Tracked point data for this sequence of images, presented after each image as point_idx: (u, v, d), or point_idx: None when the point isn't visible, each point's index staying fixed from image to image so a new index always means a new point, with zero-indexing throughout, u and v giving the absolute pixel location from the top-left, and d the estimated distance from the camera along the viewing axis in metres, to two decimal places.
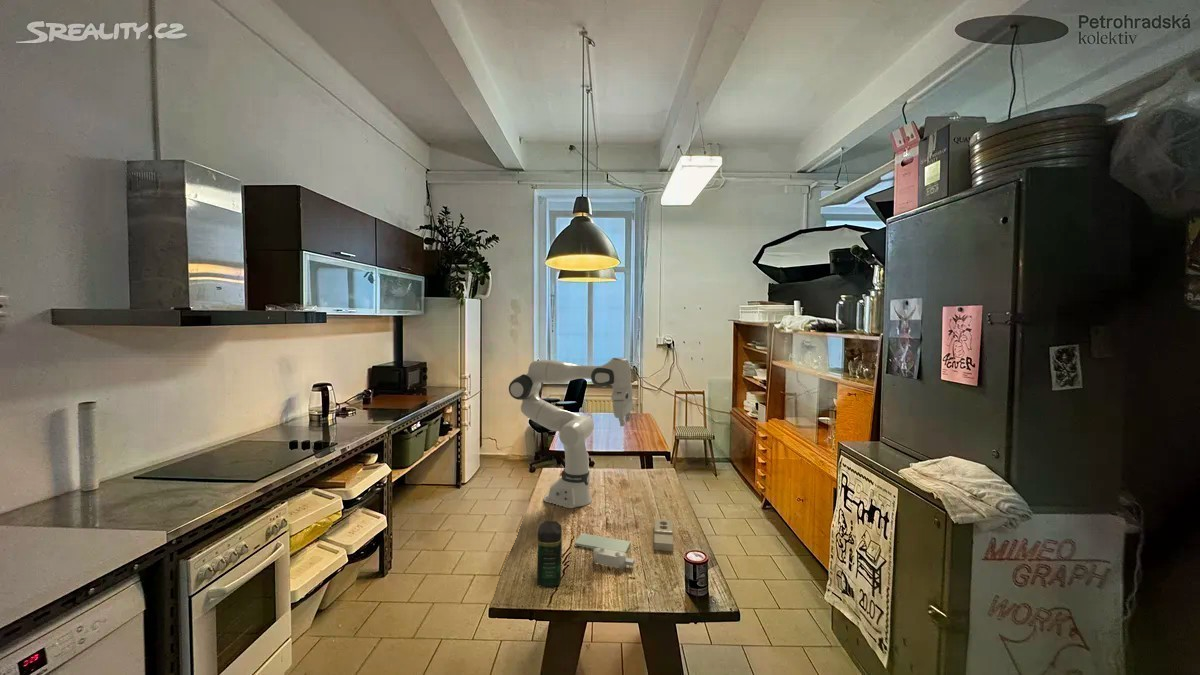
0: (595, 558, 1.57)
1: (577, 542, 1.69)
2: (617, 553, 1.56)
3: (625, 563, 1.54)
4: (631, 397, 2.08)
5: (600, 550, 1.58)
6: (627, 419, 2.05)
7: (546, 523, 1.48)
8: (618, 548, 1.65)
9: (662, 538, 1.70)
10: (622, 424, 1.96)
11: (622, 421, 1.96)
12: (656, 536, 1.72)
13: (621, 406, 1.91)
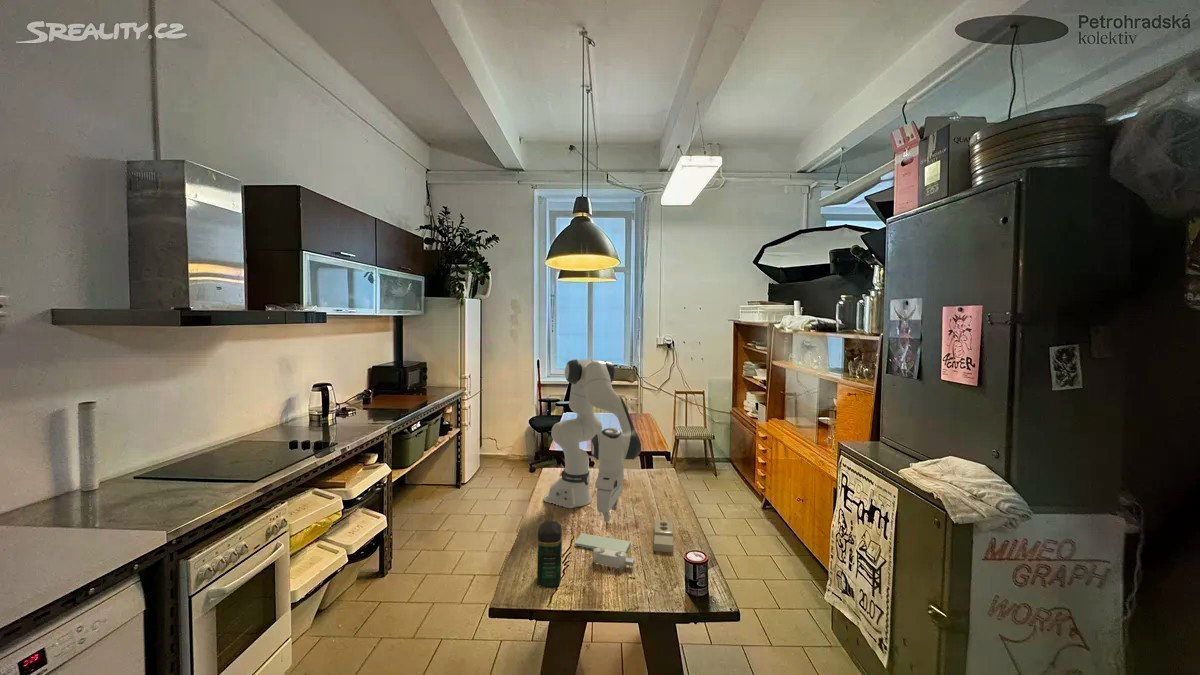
0: (595, 558, 1.57)
1: (577, 542, 1.69)
2: (617, 553, 1.56)
3: (625, 563, 1.54)
4: None
5: (600, 550, 1.58)
6: (614, 507, 1.60)
7: (546, 523, 1.48)
8: (618, 548, 1.65)
9: (662, 539, 1.70)
10: (606, 519, 1.51)
11: (607, 515, 1.51)
12: (656, 537, 1.71)
13: (607, 499, 1.46)
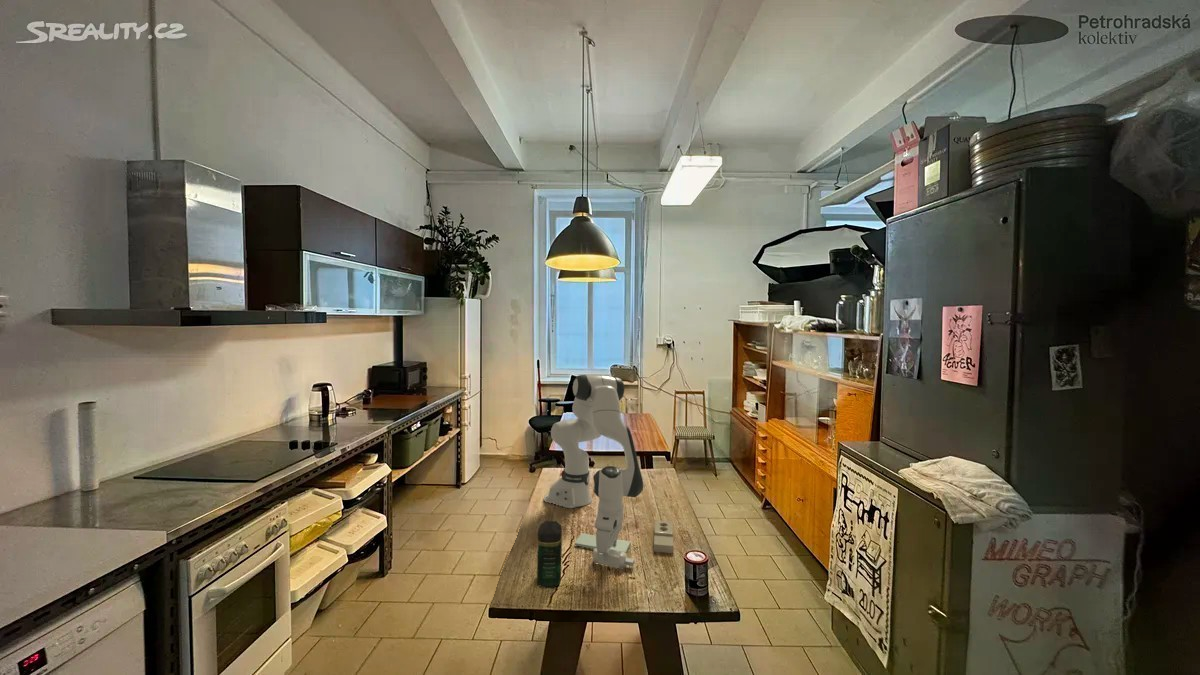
0: (595, 558, 1.57)
1: (577, 542, 1.69)
2: (617, 553, 1.56)
3: (625, 563, 1.54)
4: None
5: None
6: (613, 544, 1.61)
7: (546, 523, 1.48)
8: (618, 548, 1.65)
9: (662, 539, 1.69)
10: (606, 558, 1.52)
11: (606, 555, 1.51)
12: (656, 538, 1.70)
13: (606, 539, 1.47)
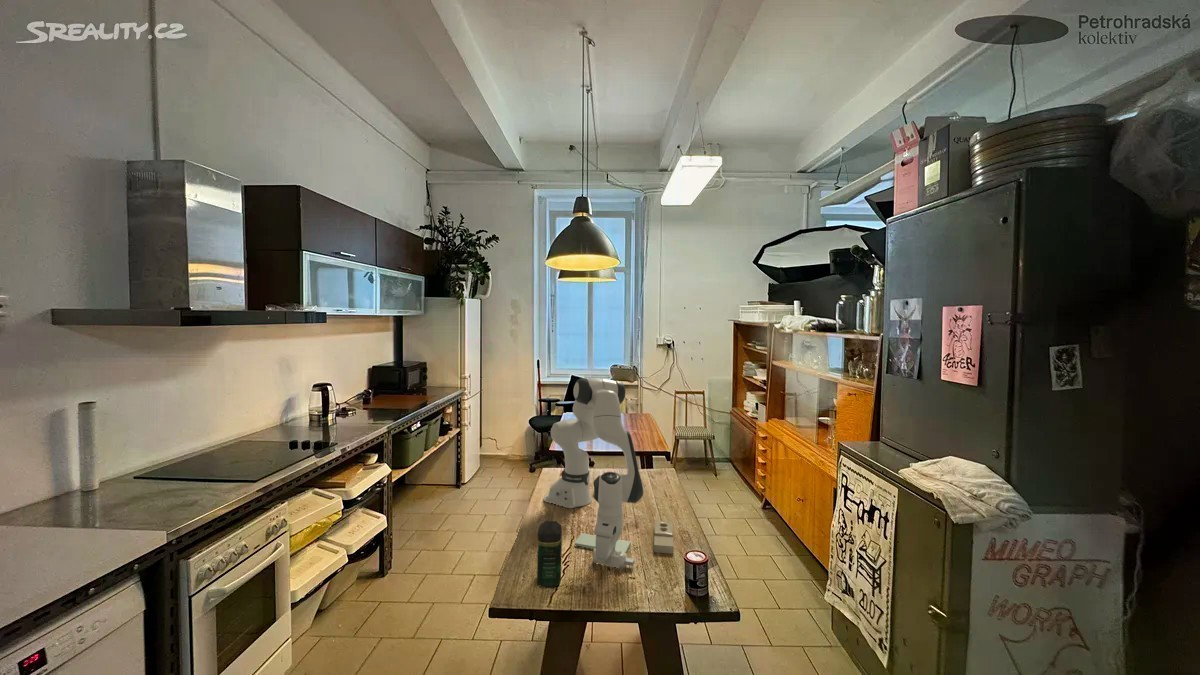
0: (595, 558, 1.57)
1: (577, 542, 1.69)
2: (617, 553, 1.57)
3: (625, 563, 1.54)
4: None
5: None
6: None
7: (546, 523, 1.48)
8: (618, 548, 1.65)
9: (662, 540, 1.69)
10: (607, 561, 1.54)
11: (607, 558, 1.53)
12: (656, 538, 1.70)
13: (606, 546, 1.47)
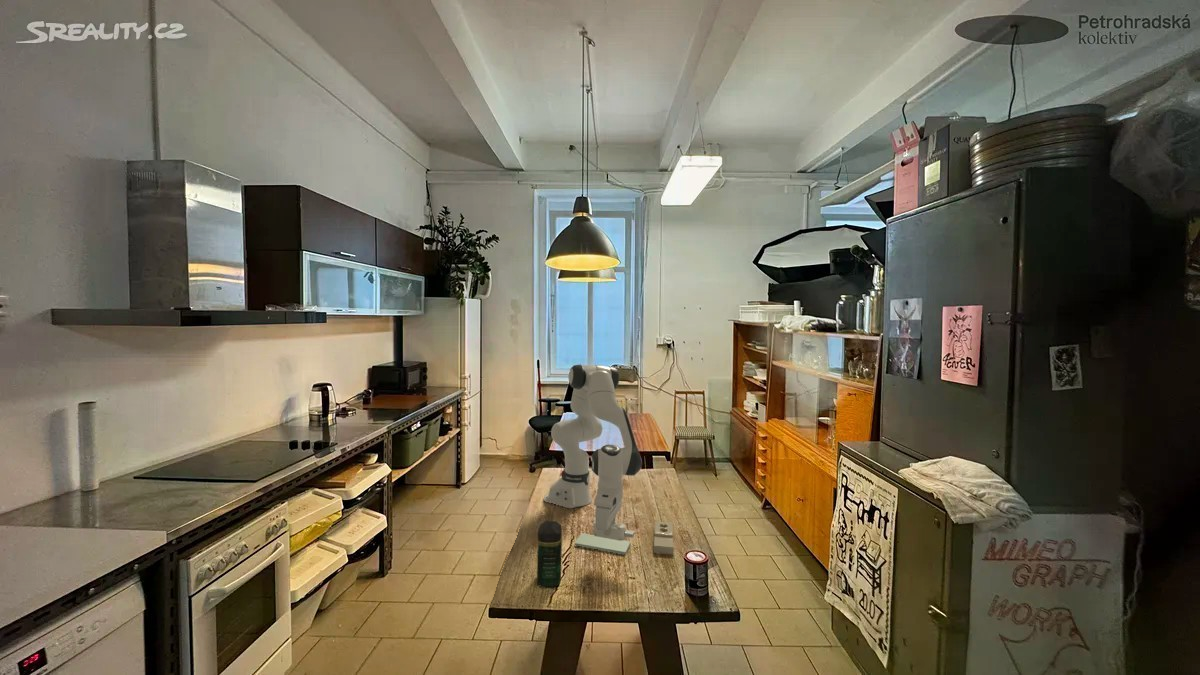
0: (595, 530, 1.57)
1: (577, 542, 1.69)
2: (617, 525, 1.56)
3: (625, 535, 1.54)
4: None
5: None
6: None
7: (546, 523, 1.48)
8: (618, 548, 1.65)
9: (662, 541, 1.68)
10: (607, 533, 1.54)
11: (607, 529, 1.53)
12: (656, 539, 1.69)
13: (606, 516, 1.47)
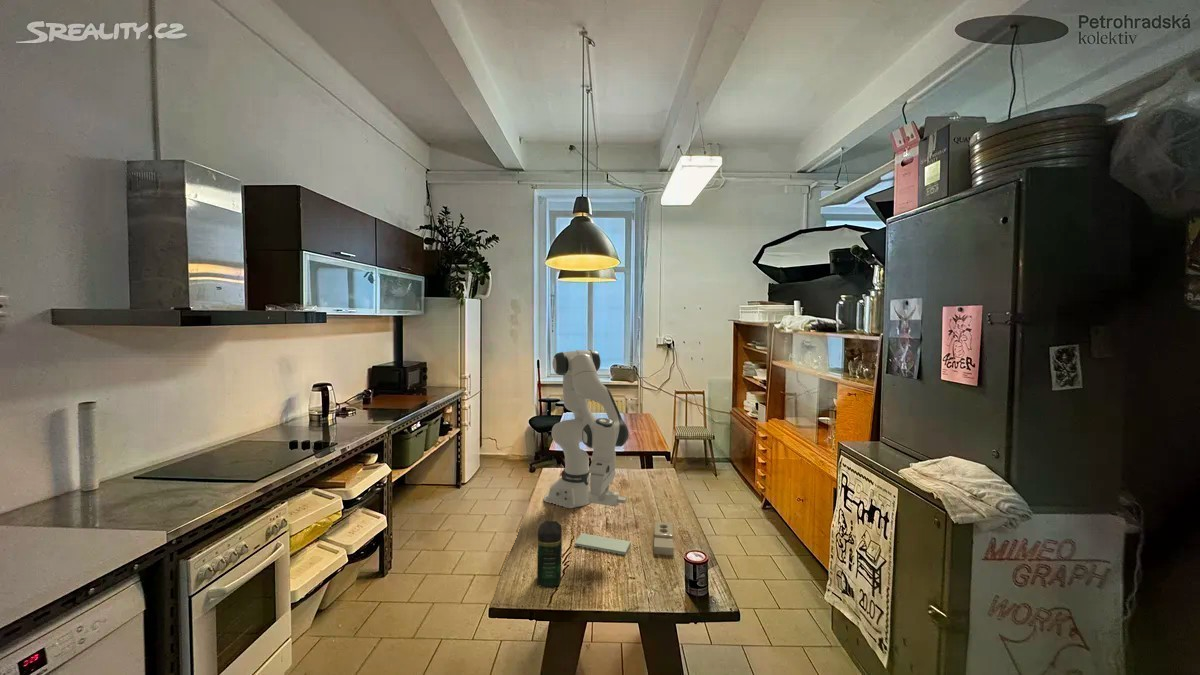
0: (590, 497, 1.69)
1: (577, 542, 1.69)
2: (610, 492, 1.68)
3: (617, 501, 1.66)
4: None
5: None
6: None
7: (546, 523, 1.48)
8: (618, 548, 1.65)
9: (662, 541, 1.67)
10: (601, 499, 1.66)
11: (601, 496, 1.65)
12: (656, 540, 1.69)
13: (600, 482, 1.59)
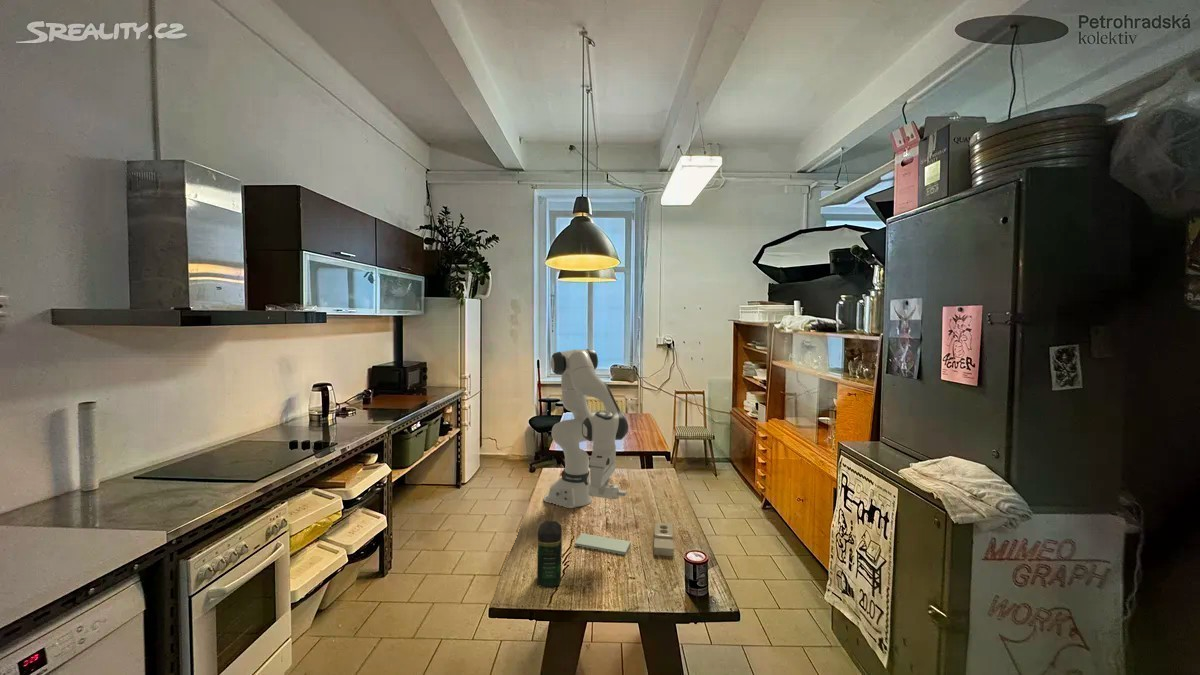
0: (590, 490, 1.68)
1: (577, 542, 1.69)
2: (610, 485, 1.68)
3: (618, 494, 1.66)
4: None
5: None
6: None
7: (546, 523, 1.48)
8: (618, 548, 1.65)
9: (662, 542, 1.67)
10: (601, 492, 1.65)
11: (601, 489, 1.65)
12: (656, 540, 1.68)
13: (600, 475, 1.59)
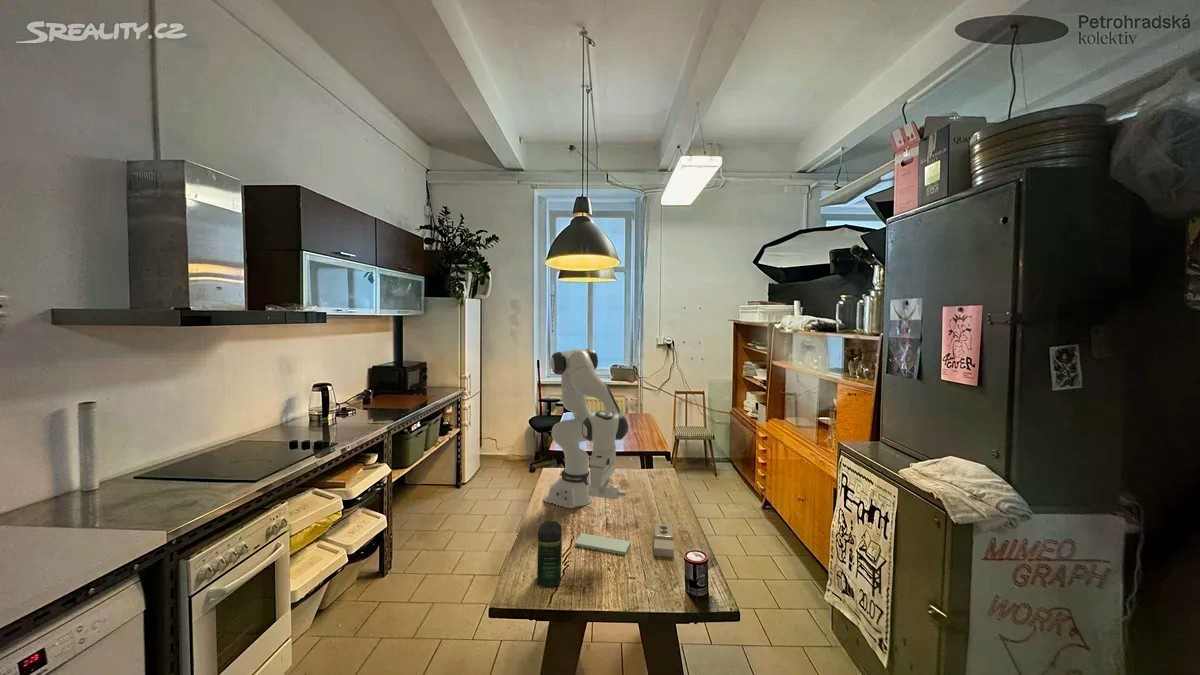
0: (590, 490, 1.68)
1: (577, 542, 1.69)
2: (610, 485, 1.68)
3: (618, 494, 1.66)
4: None
5: None
6: None
7: (546, 523, 1.48)
8: (618, 548, 1.65)
9: (662, 543, 1.66)
10: (601, 492, 1.65)
11: (601, 489, 1.65)
12: (656, 541, 1.68)
13: (600, 475, 1.59)
